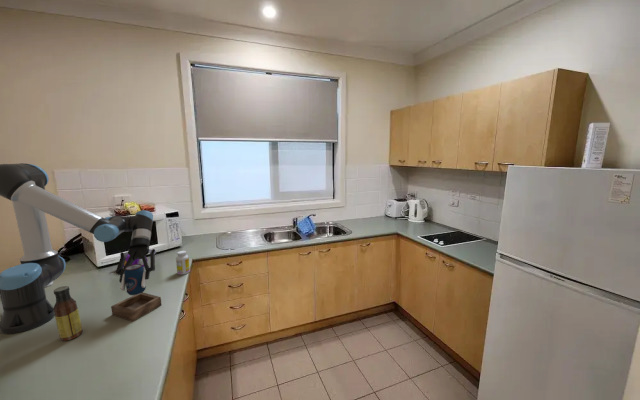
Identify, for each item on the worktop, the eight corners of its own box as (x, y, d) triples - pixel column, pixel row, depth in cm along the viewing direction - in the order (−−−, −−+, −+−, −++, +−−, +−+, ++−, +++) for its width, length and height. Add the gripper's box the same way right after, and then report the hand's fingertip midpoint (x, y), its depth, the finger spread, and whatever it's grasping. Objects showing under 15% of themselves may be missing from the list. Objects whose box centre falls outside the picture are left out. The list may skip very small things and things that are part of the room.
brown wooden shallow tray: (132, 321, 107) (131, 312, 106) (112, 314, 111) (111, 306, 111) (161, 305, 119) (160, 297, 118) (142, 299, 124) (141, 291, 123)
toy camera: (138, 272, 153) (136, 256, 152) (119, 270, 156) (117, 254, 154) (153, 265, 164) (152, 250, 162) (135, 263, 167) (133, 248, 165)
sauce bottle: (81, 328, 102) (73, 281, 99) (84, 335, 98) (76, 287, 95) (57, 337, 97) (49, 288, 94) (60, 344, 93) (51, 294, 90)
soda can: (123, 296, 111) (119, 269, 109) (134, 288, 118) (131, 263, 116) (138, 296, 111) (135, 270, 109) (149, 288, 117) (146, 263, 116)
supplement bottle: (189, 269, 158) (187, 249, 156) (190, 273, 152) (188, 252, 150) (176, 271, 154) (174, 251, 152) (177, 276, 148) (175, 254, 146)
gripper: (166, 241, 129) (161, 287, 116) (118, 246, 122) (108, 294, 110) (162, 234, 123) (157, 281, 111) (112, 238, 117) (101, 289, 104)
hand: (133, 288), depth 110 cm, fingers closed on soda can, 7 cm apart
